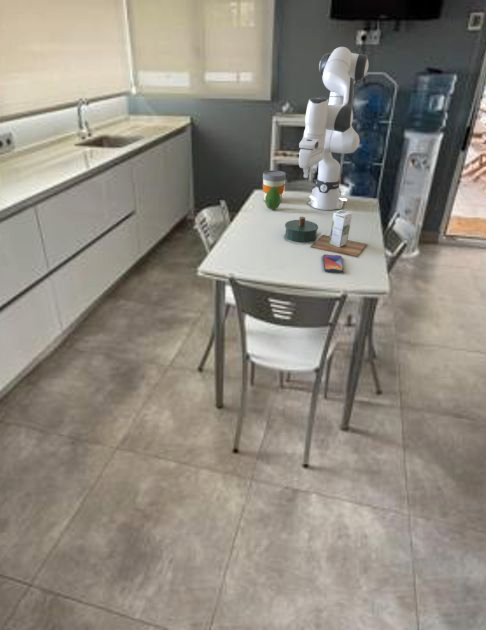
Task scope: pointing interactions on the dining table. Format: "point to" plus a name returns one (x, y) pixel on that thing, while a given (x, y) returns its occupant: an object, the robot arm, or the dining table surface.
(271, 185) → the reusable coffee cup
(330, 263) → the smartphone
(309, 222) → the pot lid
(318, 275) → the dining table surface
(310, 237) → the pot
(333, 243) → the syrup box
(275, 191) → the avocado
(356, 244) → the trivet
